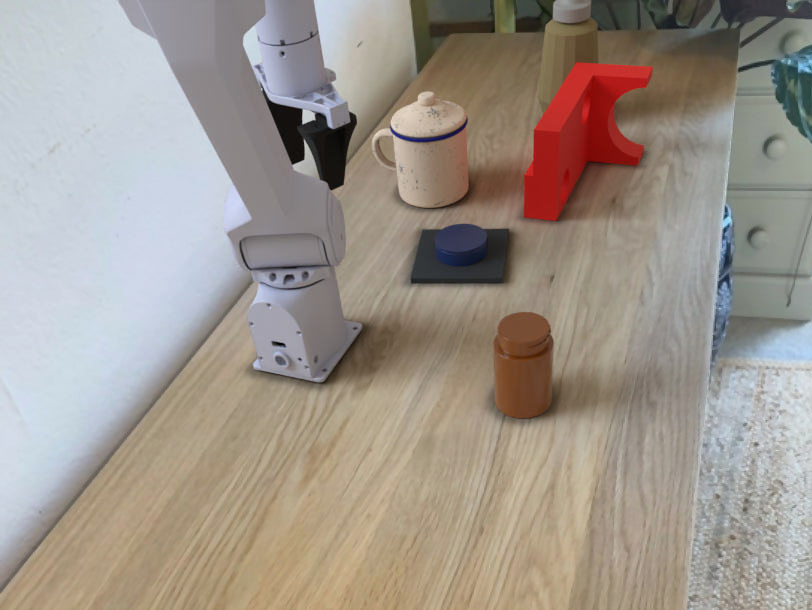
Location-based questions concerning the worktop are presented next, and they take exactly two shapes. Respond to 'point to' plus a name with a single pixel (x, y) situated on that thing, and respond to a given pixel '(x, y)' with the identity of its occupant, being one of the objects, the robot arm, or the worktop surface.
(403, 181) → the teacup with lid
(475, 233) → the jar lid
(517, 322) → the jar
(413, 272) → the coaster
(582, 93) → the bracket
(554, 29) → the squeeze bottle
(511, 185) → the worktop surface
